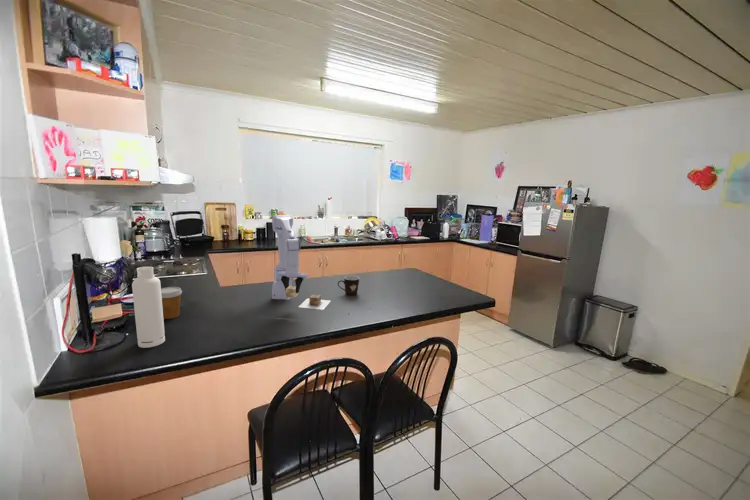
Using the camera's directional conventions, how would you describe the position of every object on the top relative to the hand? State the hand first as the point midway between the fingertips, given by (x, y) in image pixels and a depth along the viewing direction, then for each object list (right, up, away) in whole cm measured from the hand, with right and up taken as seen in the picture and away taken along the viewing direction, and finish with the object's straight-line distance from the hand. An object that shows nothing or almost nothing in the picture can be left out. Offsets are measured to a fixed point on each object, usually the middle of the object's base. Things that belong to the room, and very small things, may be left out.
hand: (292, 292), depth 147 cm
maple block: (0, -2, 0) cm, 2 cm away
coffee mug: (+24, -6, +28) cm, 38 cm away
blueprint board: (+9, -8, +10) cm, 16 cm away
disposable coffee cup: (-51, -9, -11) cm, 53 cm away
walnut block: (+9, -7, +10) cm, 16 cm away
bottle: (-43, -14, -34) cm, 56 cm away
